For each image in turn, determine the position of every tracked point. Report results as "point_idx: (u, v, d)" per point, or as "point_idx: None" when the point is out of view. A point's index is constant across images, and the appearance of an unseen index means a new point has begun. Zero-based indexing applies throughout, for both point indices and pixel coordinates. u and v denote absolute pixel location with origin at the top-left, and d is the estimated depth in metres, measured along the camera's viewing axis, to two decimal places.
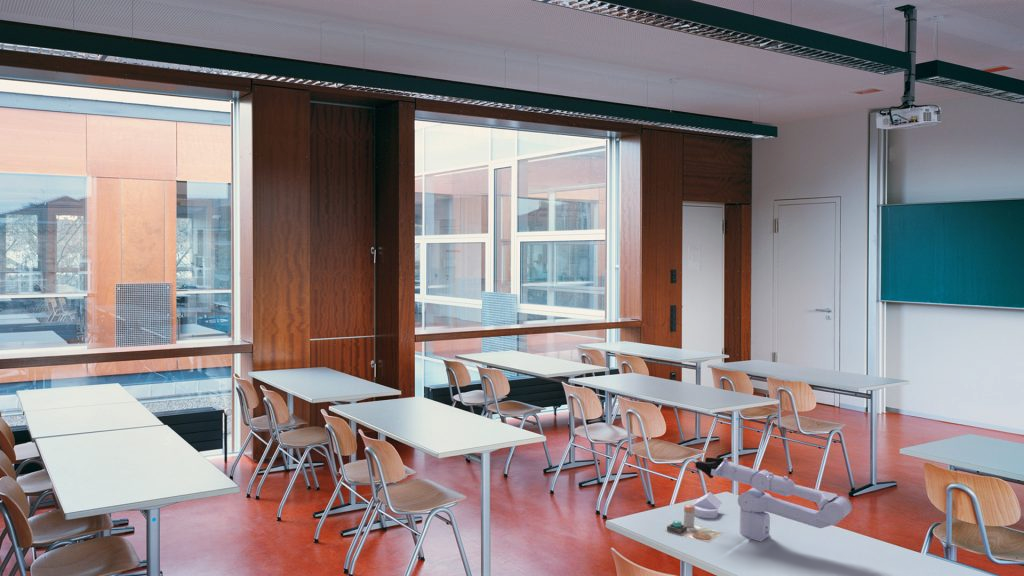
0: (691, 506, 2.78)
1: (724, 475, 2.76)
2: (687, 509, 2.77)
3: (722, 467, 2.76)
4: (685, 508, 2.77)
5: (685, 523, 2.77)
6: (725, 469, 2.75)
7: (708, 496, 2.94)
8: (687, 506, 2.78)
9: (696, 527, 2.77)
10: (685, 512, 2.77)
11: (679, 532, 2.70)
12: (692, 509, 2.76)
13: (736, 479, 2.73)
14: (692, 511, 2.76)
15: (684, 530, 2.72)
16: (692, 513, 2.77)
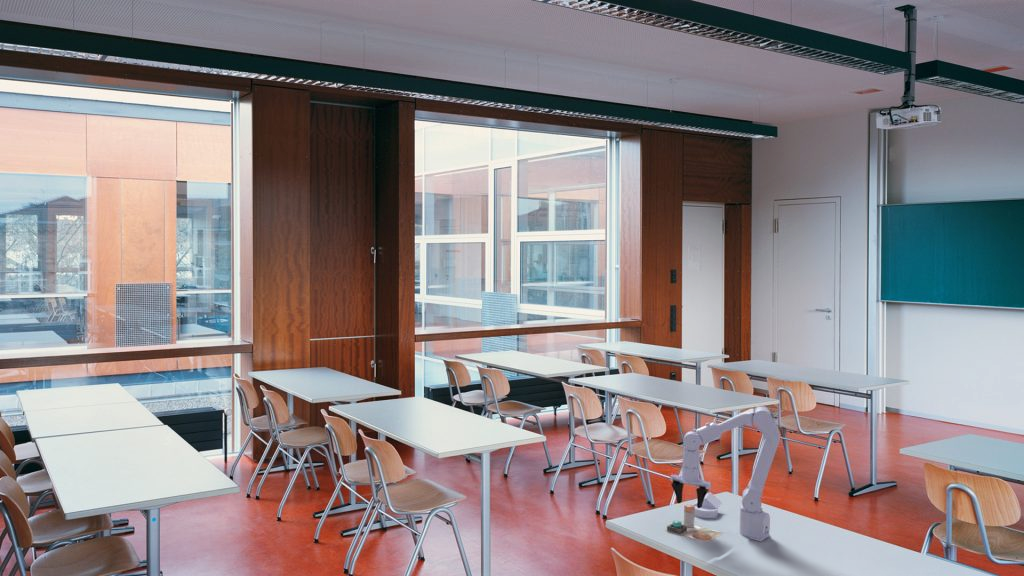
0: (691, 506, 2.78)
1: (698, 476, 2.77)
2: (687, 509, 2.77)
3: (695, 481, 2.75)
4: (685, 508, 2.77)
5: (685, 523, 2.77)
6: (696, 478, 2.75)
7: (708, 496, 2.94)
8: (687, 506, 2.78)
9: (696, 527, 2.77)
10: (685, 512, 2.77)
11: (679, 532, 2.70)
12: (692, 509, 2.76)
13: (695, 466, 2.75)
14: (692, 511, 2.77)
15: (684, 530, 2.72)
16: (692, 513, 2.77)
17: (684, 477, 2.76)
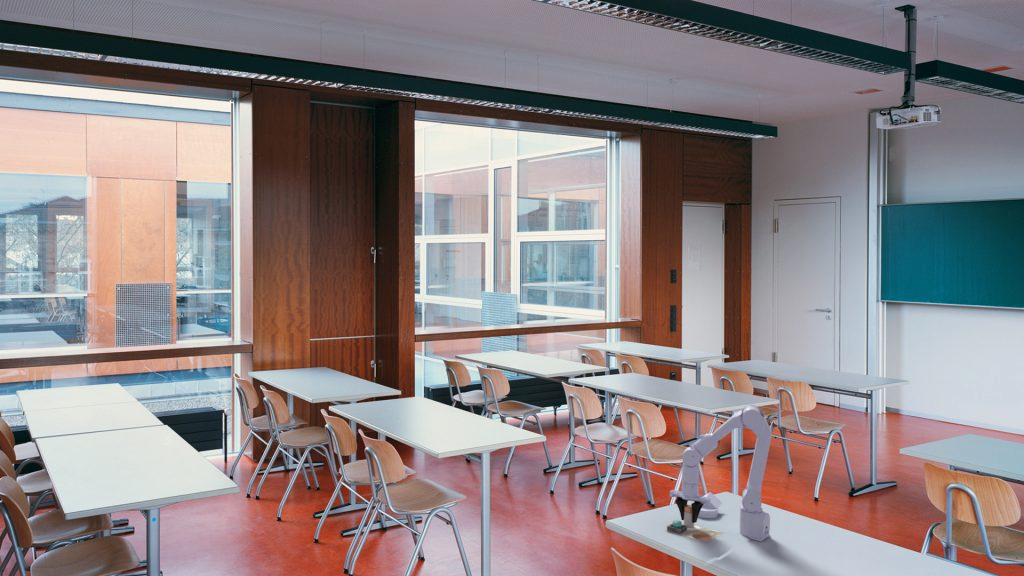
0: (691, 506, 2.78)
1: None
2: (687, 509, 2.77)
3: (695, 497, 2.75)
4: (685, 508, 2.77)
5: (685, 523, 2.77)
6: (696, 493, 2.75)
7: (708, 496, 2.94)
8: (687, 506, 2.78)
9: (696, 527, 2.77)
10: (685, 512, 2.77)
11: (679, 532, 2.70)
12: None
13: (694, 481, 2.75)
14: None
15: (684, 530, 2.72)
16: None
17: (684, 493, 2.76)
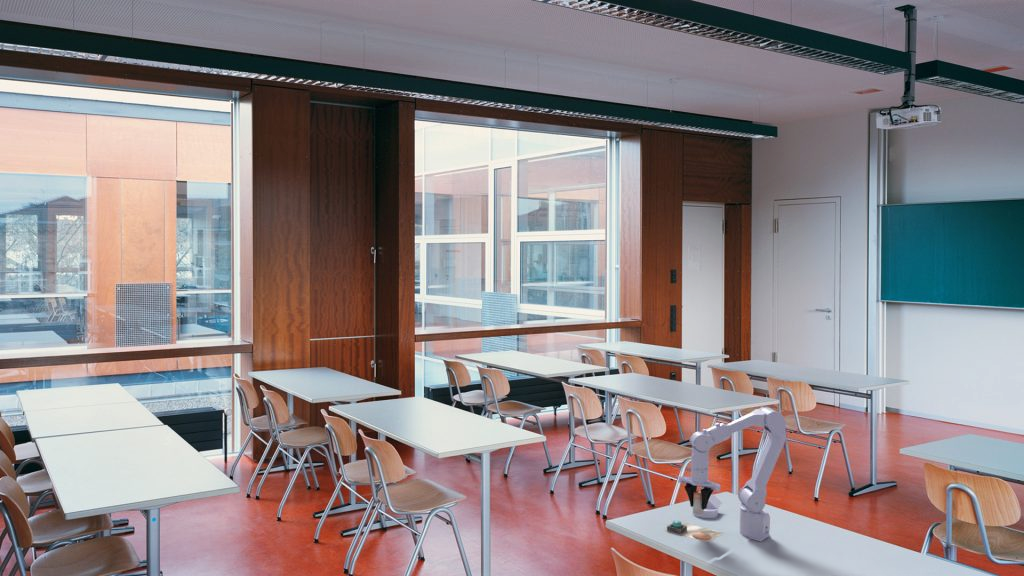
0: (700, 492, 2.71)
1: (707, 478, 2.70)
2: (697, 495, 2.70)
3: (704, 482, 2.68)
4: (694, 494, 2.70)
5: (695, 510, 2.70)
6: (705, 479, 2.68)
7: None
8: (696, 492, 2.71)
9: (696, 527, 2.77)
10: (694, 498, 2.70)
11: (679, 532, 2.70)
12: None
13: (706, 467, 2.68)
14: None
15: (684, 530, 2.72)
16: None
17: (693, 479, 2.69)
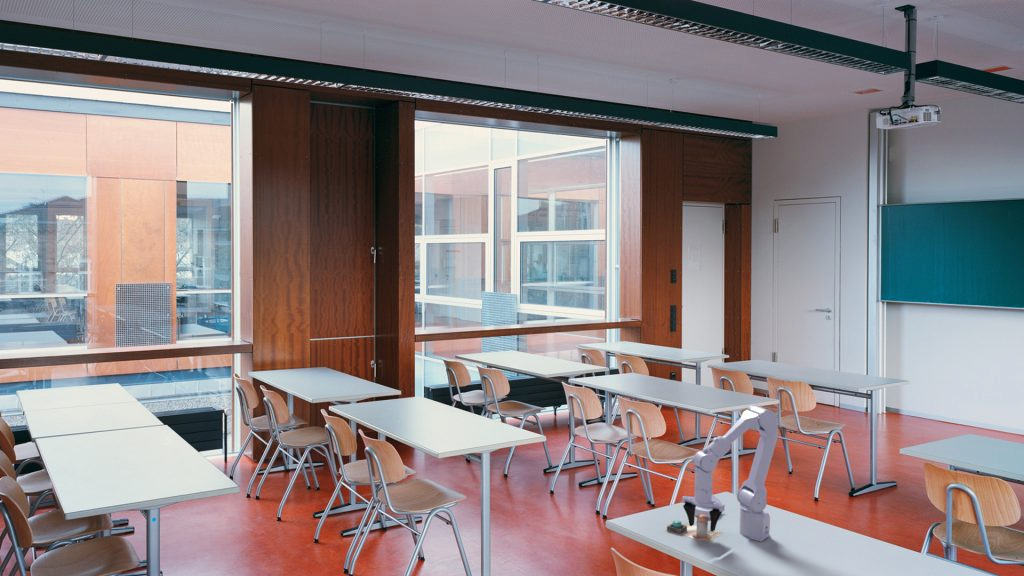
0: (704, 515, 2.68)
1: (711, 498, 2.67)
2: (700, 519, 2.66)
3: (708, 503, 2.65)
4: (698, 518, 2.67)
5: (698, 533, 2.67)
6: (709, 499, 2.65)
7: None
8: (700, 515, 2.68)
9: (696, 527, 2.77)
10: (698, 522, 2.67)
11: (679, 532, 2.70)
12: (705, 519, 2.66)
13: (711, 486, 2.66)
14: (705, 521, 2.66)
15: (684, 530, 2.72)
16: (705, 523, 2.67)
17: (697, 499, 2.66)
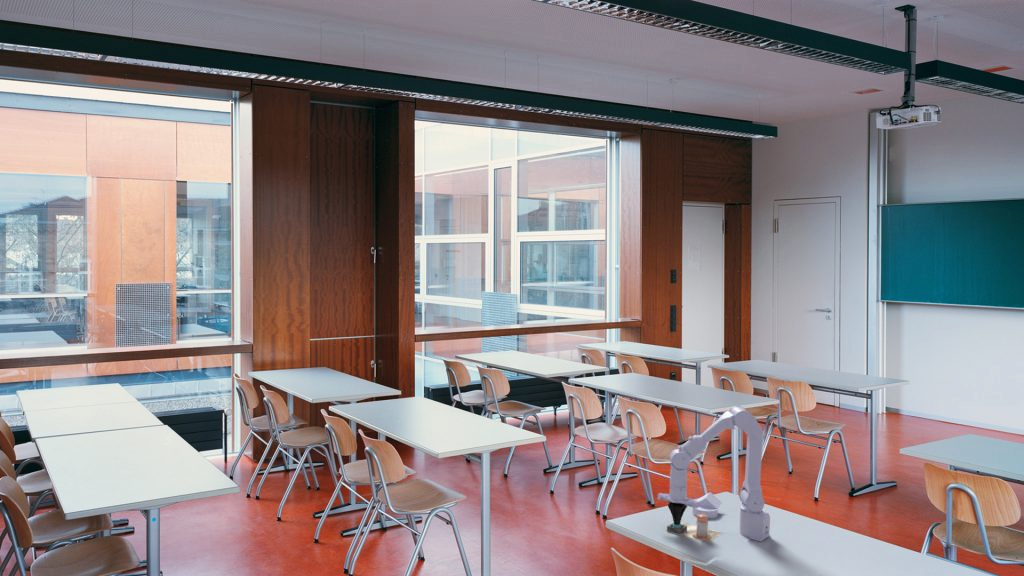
0: (704, 515, 2.68)
1: (686, 495, 2.73)
2: (700, 519, 2.66)
3: (683, 500, 2.70)
4: (698, 518, 2.67)
5: (698, 533, 2.67)
6: (684, 496, 2.71)
7: (708, 496, 2.94)
8: (700, 515, 2.68)
9: (696, 527, 2.77)
10: (698, 522, 2.67)
11: (679, 532, 2.70)
12: (706, 519, 2.66)
13: (684, 484, 2.70)
14: (706, 521, 2.66)
15: (684, 530, 2.72)
16: (706, 523, 2.67)
17: (671, 496, 2.71)
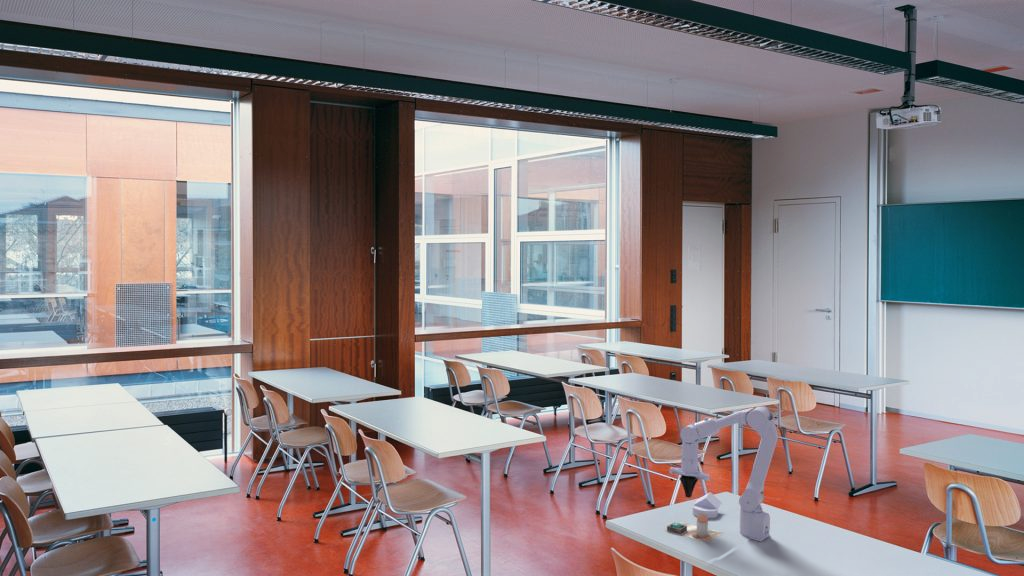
0: (704, 515, 2.68)
1: (697, 468, 2.83)
2: (700, 519, 2.66)
3: (694, 473, 2.80)
4: (698, 518, 2.67)
5: (698, 533, 2.67)
6: (695, 470, 2.81)
7: (708, 496, 2.94)
8: (700, 515, 2.68)
9: (696, 527, 2.77)
10: (698, 522, 2.67)
11: (679, 532, 2.70)
12: (706, 519, 2.66)
13: (692, 458, 2.80)
14: (706, 521, 2.66)
15: (684, 530, 2.72)
16: (706, 523, 2.67)
17: (683, 469, 2.81)
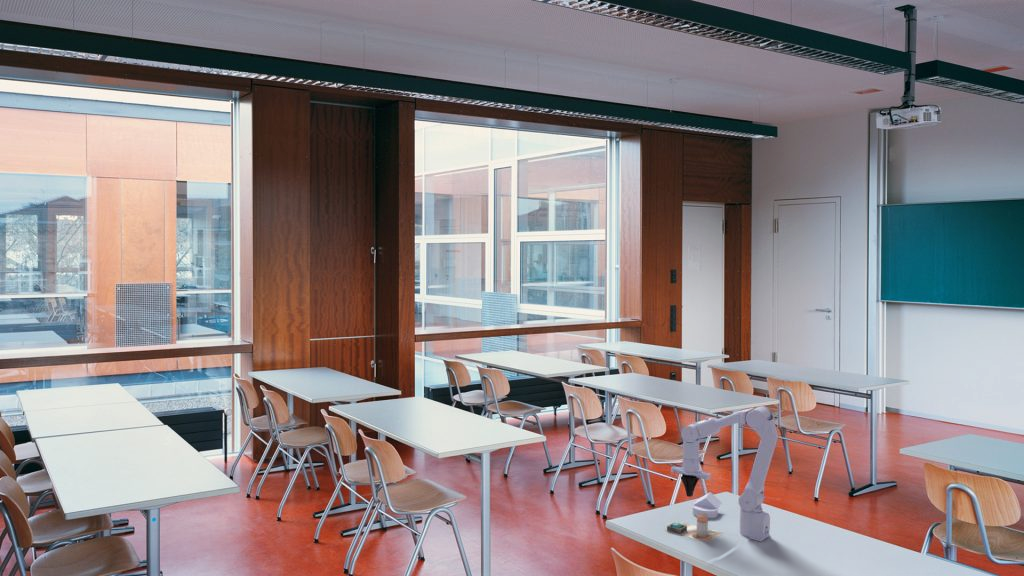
0: (704, 515, 2.68)
1: (698, 468, 2.84)
2: (700, 519, 2.67)
3: (695, 472, 2.81)
4: (698, 518, 2.67)
5: (698, 533, 2.67)
6: (696, 469, 2.82)
7: (708, 496, 2.94)
8: (700, 515, 2.68)
9: (696, 527, 2.77)
10: (698, 522, 2.67)
11: (679, 532, 2.70)
12: (705, 518, 2.66)
13: (692, 457, 2.81)
14: (705, 521, 2.67)
15: (684, 530, 2.72)
16: (705, 523, 2.67)
17: (684, 468, 2.83)
